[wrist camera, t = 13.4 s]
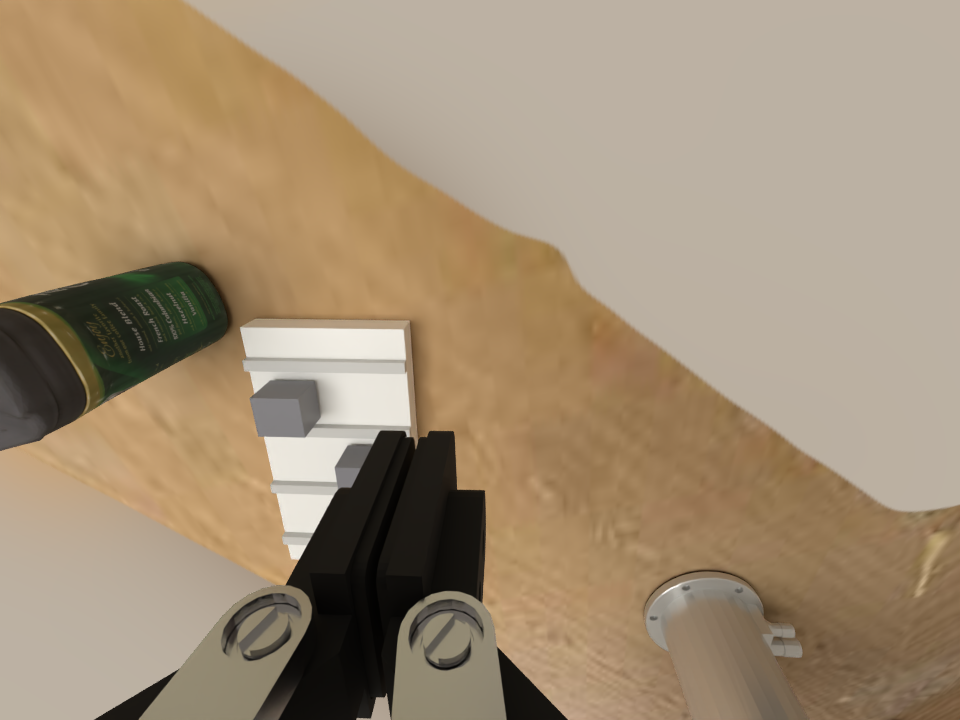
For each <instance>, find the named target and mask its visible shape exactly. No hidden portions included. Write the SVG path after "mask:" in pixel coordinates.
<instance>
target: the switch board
mask: <svg viewBox="0 0 960 720" xmlns="http://www.w3.org/2000/svg"><path fill="white" fill-rule="evenodd" d="M240 330H241V334H242V339H243V344H244V348H245V353H246V357H247V358H245V359H244V360H242V362H243V366H244V371H250V375H251V380H252V384H253V389H254V393H256V392H257V391H258V390H260V389H261V388H262V387H263V386H264V385H265V384H267V383H268V382H269V381H270V380H286V381H315V384H316V390H317V396H318V403H319V409H320V415H321V418H320V419H319V420H318V422H317V423H316V424H315V426H314V427H313V428H312V429H311V431H310V432H309V433H308V435H307V436H306V437H305V438H297V437H264V438H265V443H266V447H267V452H268V457H269V461H270V466H271V470H272V475H273V479H274V481H273V482H272V483H271V485H270V486H271V490H272V493H277V497H278V502H279V506H280V511H281V515H282V520H283V524H284V529H285V533H284V534H283V536H282V539H283V543H284V544H288V547H289V551H290V556H291V559H300V557H301V556H302V554H303V552H304V550H305V548H306V546H307V544H308V543H309V541H310V539H311V537H312V535H313V533H314V531H315V530H316V528H317V526H318V524H319V522H320V520H321V518H322V517H323V515H324V513H325V511H326V509H327V507H328V505H329V504H330V502H331V500H332V498H333V496H334V494H335V493H336V491H337V490H338V486H337V480H336V473H335V466H336V464H337V462H338V461H339V459H340V457H341V456H342V454H343V452H344V451H345V449H346V447H347V445H357V446H372V445H373V443H374V441H375V439H376V437H377V435H378V433H379V432H380V431H381V430H395V431H405V432H406V435H407V437H414V440H415V448H416V447H417V444H418V434H417V419H416V405H415V390H414V375H413V361H412V346H411V331H410V320H332V319H254V320H252V321H250V322H248V323H247V324H245V325H243V326H241V327H240Z"/></svg>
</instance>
